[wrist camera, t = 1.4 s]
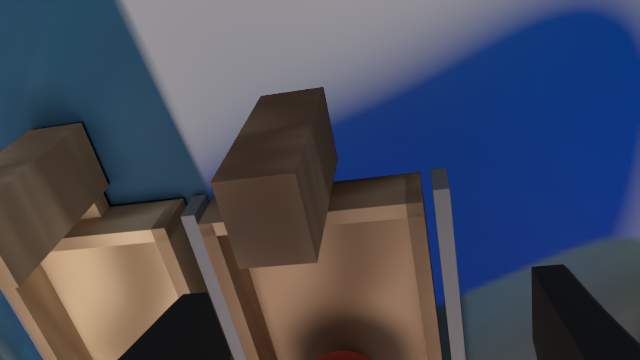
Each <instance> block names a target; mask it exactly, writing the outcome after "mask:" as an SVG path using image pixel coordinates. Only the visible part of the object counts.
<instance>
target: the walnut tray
mask: <svg viewBox="0 0 640 360" xmlns="http://www.w3.org/2000/svg"><path fill="white" fill-rule="evenodd" d="M337 160H338V158H337V153H336V149H335V143H334V138H333V133H332V128H331V123H330V118H329V113H328V108H327V103H326V98H325V93H324V88H323V87H320V88H313V89H306V90H299V91H293V92H286V93H279V94H272V95H266V96H261V97H260V99H259V100H258V102H257V104H256V106H255V107H254V109H253V111H252V112H251V114H250V116H249V117H248V119H247V121H246V123H245V124H244V126H243V128H242V129H241V131H240V133H239V135H238V136H237V138H236V140H235V141H234V143H233V145H232V147H231V148H230V150H229V152H228V153H227V155H226V157H225V159H224V160H223V162H222V164H221V165H220V167H219V169H218V170H217V172H216V174H215V176H214V177H213V179H212V181H211V186H212V189H213V192H214V196H213V198H212V199H211V201H210V203H209V205H208V207H207V208H206V210H205V212H204V214H203V216H202V218H201V219H200V221H199V223H198V227H199V230H200V233H201V236H202V238H203V241H204V244H205V247H206V250H207V252H208V255H209V258H210V261H211V263H212V266H213V269H214V272H215V274H216V277H217V280H218V283H219V285H220V288H221V291H222V294H223V296H224V299H225V302H226V305H227V308H228V310H229V313H230V316H231V319H232V321H233V324H234V327H235V330H236V332H237V335H238V338H239V341H240V343H241V346H242V349H243V352H244V354H245V357H246V360H314V359H316V358H319V357H321V356H323V355H325V354H328V353H330V352H333V351H353V352H356V353H360V354H362V355H365V356H367V357H369V358H370V359H372V360H443V356H442V348H441V340H440V331H439V323H438V315H437V307H436V298H435V290H434V282H433V274H432V265H431V258H430V249H429V241H428V233H427V225H426V216H425V208H424V200H423V192H422V183H421V175H420V172H418V173H409V174H400V175H391V176H383V177H373V178H364V179H355V180H346V181H337V182H333V180H334V175H335V170H336V165H337Z"/></svg>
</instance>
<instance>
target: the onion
mask: <svg viewBox="0 0 640 360" xmlns="http://www.w3.org/2000/svg"><path fill="white" fill-rule="evenodd" d="M314 360H372V359H370V358H369V357H367V356H365V355H362V354H360V353H356V352H353V351H333V352H330V353H328V354H325V355H323V356H321V357H319V358H316V359H314Z"/></svg>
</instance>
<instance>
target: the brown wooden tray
mask: <svg viewBox="0 0 640 360" xmlns="http://www.w3.org/2000/svg"><path fill="white" fill-rule="evenodd" d="M431 179H432V188H433V197H434V206H435V215H436V223H437V233H438V242H439V252H440V260H441V270H442V279H443V288H444V297H445V306H446V315H447V324H448V333H449V342H450V351H451V360H466V358H465V348H464V337H463V326H462V316H461V305H460V294H459V285H458V273H457V262H456V253H455V241H454V230H453V220H452V209H451V200H450V199H451V198H450V188H449V183H448V177H447V170H446V168H438V169H431ZM208 205H209V201H208V199H207V196H206V195H197V196H193V197H192V198H191V200H190V202H189V203H188V205H187V206H186V208H185V210H184V211H183V213H182V215H181V216H180V217H181V220H182V223H183V225H184V228H185V230H186V233H187V236H188V238H189V241H190V244H191V246H192V249H193V252H194V254H195V257H196V260H197V262H198V265H199V268H200V270H201V273H202V276H203V278H204V281H205V284H206V286H207V289H208V292H209V294H210V297H211V299H212V302H213V305H214V307H215V310H216V313H217V315H218V318H219V321H220V323H221V326H222V329H223V331H224V334H225V337H226V339H227V342H228V345H229V347H230V350H231V353H232V355H233V358H234V360H246V357H245V354H244V352H243V349H242V346H241V343H240V341H239V338H238V335H237V332H236V330H235V327H234V324H233V321H232V319H231V316H230V313H229V310H228V308H227V305H226V302H225V299H224V296H223V294H222V291H221V288H220V285H219V283H218V280H217V277H216V274H215V272H214V269H213V266H212V263H211V261H210V258H209V255H208V252H207V250H206V247H205V244H204V241H203V238H202V236H201V233H200V230H199V227H198V223H199V221H200V219H201V218H202V216H203V214H204V212H205V210H206V208H207V207H208ZM1 291H2V293H3V294H4V296H5V297H6V299H7V301H8V302H9V304H10V306H11V307H12V309H13V311H14V312H15V314H16V315H17V317H18V319H19V320H20V322H21V324H22V325H23V327H24V329H25V330H26V332H27V333H28V335H29V337H30V338H31V340H32V342H33V343H34V345H35V347H36V348H37V350H38V351H39V353H40V355H41V356H42V358H43V360H46V359H45V357H44V355H43V354H42V352H41V350H40V349H39V347H38V345H37V344H36V342H35V341H34V339H33V337H32V336H31V334H30V332H29V331H28V329H27V327H26V326H25V324H24V322H23V321H22V319H21V317H20V316H19V314H18V313H17V311H16V309H15V308H14V306H13V304H12V303H11V301H10V299H9V298H8V296H7V294H6V293H5V291H4V289H1Z"/></svg>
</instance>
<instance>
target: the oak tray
mask: <svg viewBox="0 0 640 360" xmlns="http://www.w3.org/2000/svg"><path fill="white" fill-rule="evenodd" d="M108 187H109V185H108V183H107V180H106V178H105V176H104V174H103V171H102V169H101V167H100V164H99V162H98V160H97V158H96V155H95V153H94V151H93V148H92V146H91V144H90V142H89V139H88V137H87V135H86V132H85V130H84V128H83V126H82V123H76V124H69V125H62V126H55V127H48V128H42V129H35V130H29V131H28V132H26V133H25V134H24V135H22V136H21V137H20V138H18V139H17V140H15V141H14V142H13V143H11V144H10V145H8V146H7V147H6V148H4V149H3V150H2V151H0V289H4V291H5V293H6V294H7V296H8V298H9V299H10V301H11V303H12V304H13V306H14V308H15V309H16V311H17V313H18V314H19V316H20V317H21V319H22V321H23V322H24V324H25V326H26V327H27V329H28V331H29V332H30V334H31V336H32V337H33V339H34V341H35V342H36V344H37V345H38V347H39V349H40V350H41V352H42V354H43V355H44V357H45V359H46V360H118V359H119V358H120V357H121V356H122V355H123V354H124V353H125V352H126V351H127V350H128V349H129V348H130V347H131V346H132V345H133V344H134V343H135V342H136V341H137V340H138V339H139V338H140V336H141V335H142V334H143V333H144V332H145V331H146V330H147V329H148V328H149V327H150V326H151V325H152V324H153V323H154V322H155V321H156V320H157V319H158V318H159V317H160V316H161V315H162V314H163V313H164V312H165V311H166V310H167V309H168V308H169V307H170V306H171V305H172V304H173V303H174V302H175V301H176V300H177V299H178V298H179V297H180V296H182V295H183V294H190V293H202V292H207V293H208V296H209V298H210V301H211V303H212V306H213V309H214V311H215V314H216V316H217V319H218V322H219V324H220V327H221V329H222V326H221V323H220V321H219V318H218V315H217V313H216V310H215V307H214V305H213V302H212V299H211V297H210V294H209V292H208V289H207V286H206V284H205V281H204V278H203V276H202V273H201V270H200V268H199V265H198V262H197V260H196V257H195V254H194V252H193V249H192V246H191V244H190V241H189V238H188V236H187V233H186V230H185V228H184V225H183V223H182V220H181V217H180V216H181V215H182V213H183V211H184V210H185V208H186V205H185V202H184V200H183V199H176V200H167V201H158V202H149V203H140V204H131V205H122V206H113V207H109V205H108V202H107V200H106V198H105V196H104V194H103V193H104V192H105V190H106V189H107V188H108ZM222 332H223V335H224V337H225V334H224V331H223V329H222ZM225 340H226V342H227V339H226V337H225ZM227 345H228V342H227ZM228 348H229V350H230V347H229V345H228ZM230 353H231V350H230ZM230 360H234V358H233V355H232V353H231V359H230Z"/></svg>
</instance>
